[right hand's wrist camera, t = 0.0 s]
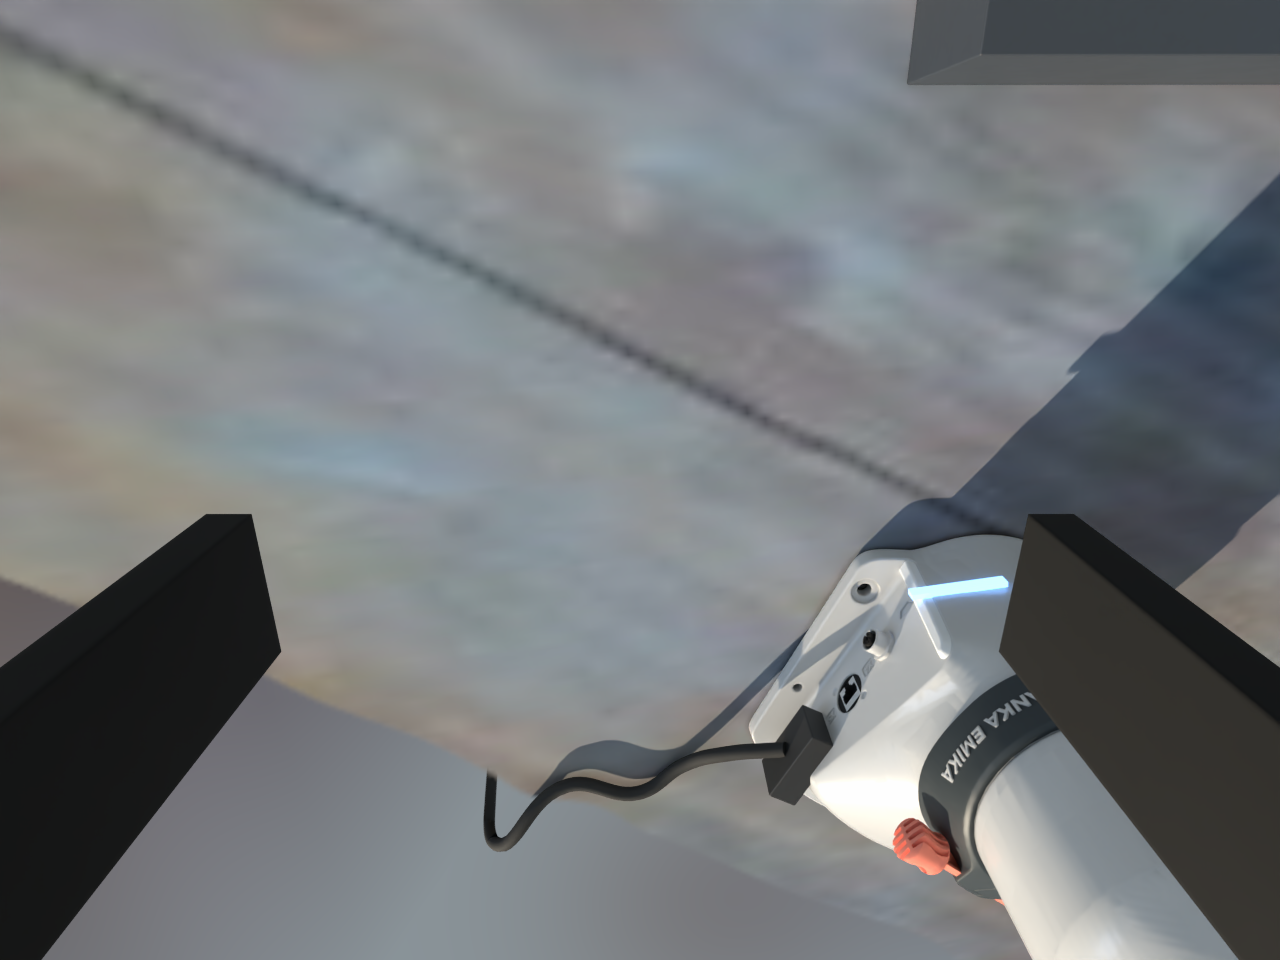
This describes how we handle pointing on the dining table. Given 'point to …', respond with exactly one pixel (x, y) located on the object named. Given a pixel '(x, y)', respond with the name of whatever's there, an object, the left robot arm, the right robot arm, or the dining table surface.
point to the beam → (1096, 42)
